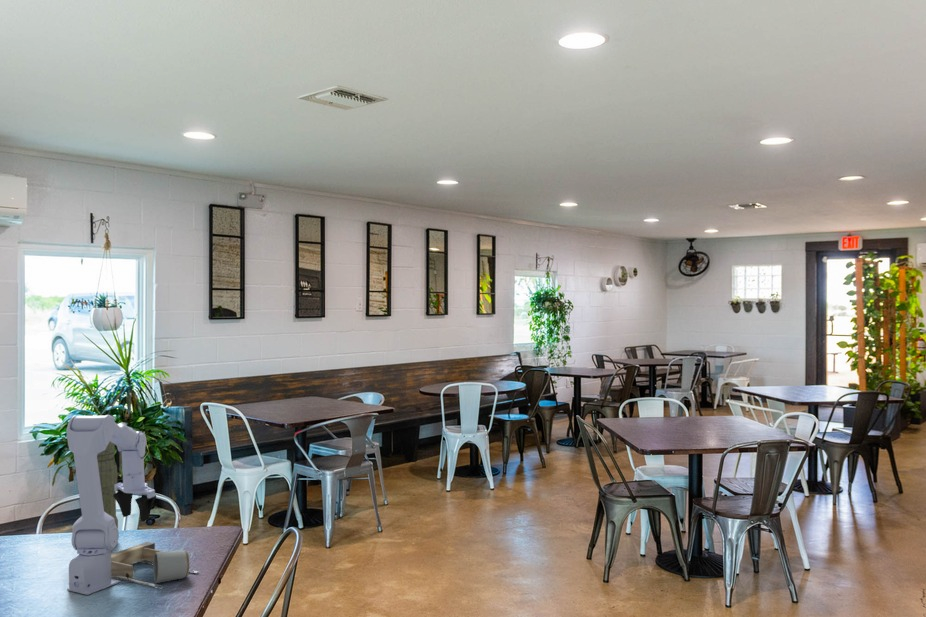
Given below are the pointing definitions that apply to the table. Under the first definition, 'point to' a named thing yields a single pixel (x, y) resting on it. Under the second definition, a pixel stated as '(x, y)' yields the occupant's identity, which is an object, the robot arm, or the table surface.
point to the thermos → (109, 477)
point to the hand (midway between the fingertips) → (135, 518)
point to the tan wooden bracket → (131, 558)
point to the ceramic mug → (171, 565)
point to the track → (138, 580)
